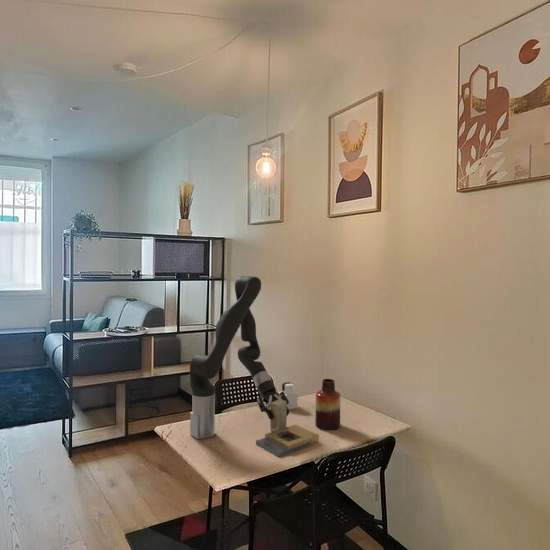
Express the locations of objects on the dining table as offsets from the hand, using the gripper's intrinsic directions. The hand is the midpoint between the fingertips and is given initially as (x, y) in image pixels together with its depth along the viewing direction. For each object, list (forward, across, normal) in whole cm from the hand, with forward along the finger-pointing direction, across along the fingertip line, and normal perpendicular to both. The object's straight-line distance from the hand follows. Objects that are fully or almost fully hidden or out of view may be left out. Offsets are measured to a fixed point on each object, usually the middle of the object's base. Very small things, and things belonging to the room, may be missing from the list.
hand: (280, 416), depth 189 cm
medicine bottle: (-10, +22, +19) cm, 30 cm away
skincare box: (+4, 0, +5) cm, 6 cm away
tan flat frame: (+13, -6, -4) cm, 15 cm away
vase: (+11, +20, -2) cm, 23 cm away
